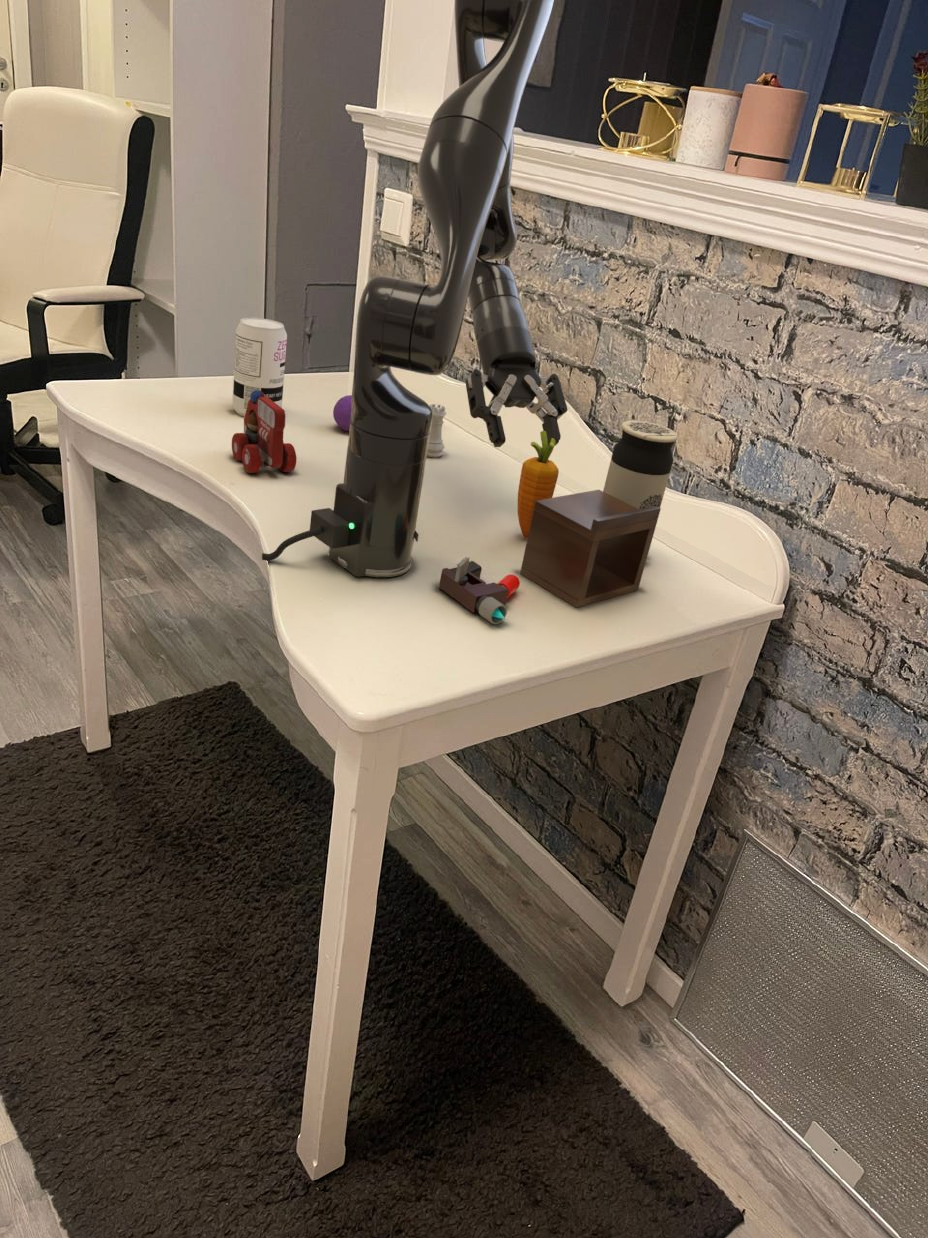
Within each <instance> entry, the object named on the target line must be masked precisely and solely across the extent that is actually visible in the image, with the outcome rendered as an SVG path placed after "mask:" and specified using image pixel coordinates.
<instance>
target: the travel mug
mask: <svg viewBox="0 0 928 1238" xmlns="http://www.w3.org/2000/svg"><path fill="white" fill-rule="evenodd" d="M620 426H621V427H620V428H621V429H622V432H621V438H620V439H619V440H618V441H617V442H616V444H615V445H614V446H613V449H612V453H611V457H610V462H609V466H608V470H607V474H606V478H605V482H604V486H603V490H602V491H603V492H605V493H607V494H609V495H611V496H613V497H615V498H617V499H619V500H621V501H623V502H625V503H627V504H629V505H631V506H633V507H635V508H637V509H639V510H640V509H645V508H650V507H655V506H657V507H659V508H661V506H662V502H663V500H664V495H665V492H666V489H667V485H668V481H669V477H670V474H671V472H672V471H671V470H672V467H673V463H674V456H673V451H672V448H673V446H674V444H675V442H676V441H677V440H678V439H679V435H678V433H676V431H674V430H672V428H670V427H666V426H664V425H661V424H658V423H654V422H650V421H644V420H626V421H623V422H622V423H621V425H620Z"/></svg>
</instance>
